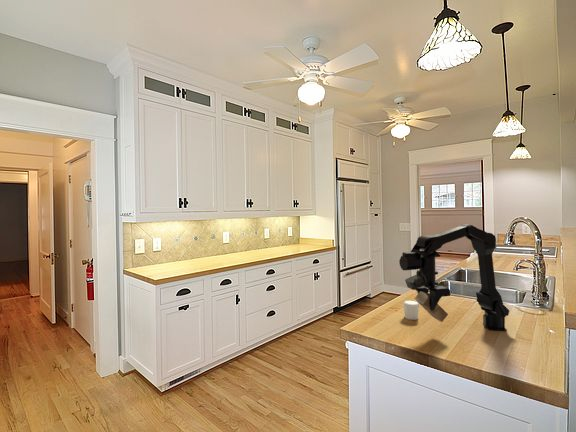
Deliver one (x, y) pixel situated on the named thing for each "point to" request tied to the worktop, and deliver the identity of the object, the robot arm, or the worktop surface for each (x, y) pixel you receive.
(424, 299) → the walnut block
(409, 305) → the white cylinder
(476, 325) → the worktop surface
